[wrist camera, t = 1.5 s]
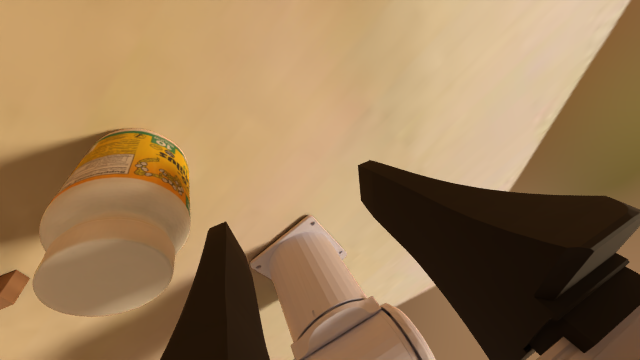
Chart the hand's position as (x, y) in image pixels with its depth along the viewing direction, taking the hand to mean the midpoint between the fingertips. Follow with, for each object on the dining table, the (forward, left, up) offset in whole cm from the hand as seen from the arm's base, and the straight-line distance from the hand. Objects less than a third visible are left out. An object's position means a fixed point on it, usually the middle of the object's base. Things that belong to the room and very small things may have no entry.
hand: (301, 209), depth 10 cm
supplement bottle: (+2, +7, -11) cm, 13 cm away
